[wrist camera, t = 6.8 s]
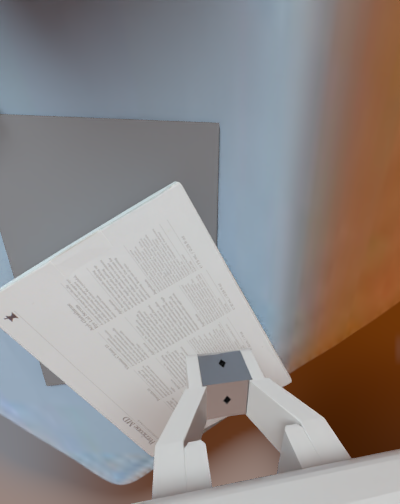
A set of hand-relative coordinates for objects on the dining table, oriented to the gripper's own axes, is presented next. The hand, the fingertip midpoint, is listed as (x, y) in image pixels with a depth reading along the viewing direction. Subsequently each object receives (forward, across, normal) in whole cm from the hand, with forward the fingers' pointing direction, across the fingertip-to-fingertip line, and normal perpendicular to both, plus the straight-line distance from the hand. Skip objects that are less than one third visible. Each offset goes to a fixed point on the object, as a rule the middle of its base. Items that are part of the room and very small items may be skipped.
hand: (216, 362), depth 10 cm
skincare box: (+9, -4, +1) cm, 10 cm away
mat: (+12, +6, 0) cm, 13 cm away
